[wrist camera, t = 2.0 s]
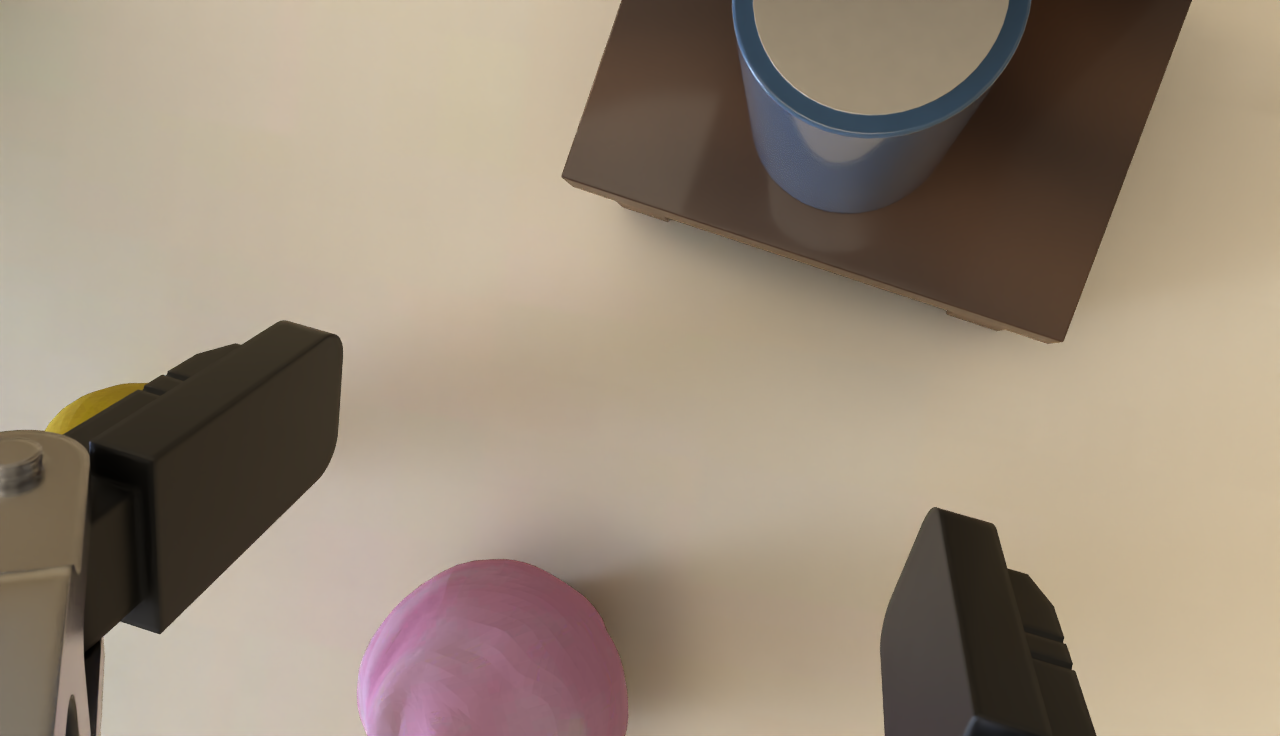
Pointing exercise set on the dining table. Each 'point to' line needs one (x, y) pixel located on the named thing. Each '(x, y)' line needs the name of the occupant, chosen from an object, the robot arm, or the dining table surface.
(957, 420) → the dining table surface
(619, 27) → the shelf
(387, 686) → the cupcake
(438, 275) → the dining table surface
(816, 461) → the dining table surface
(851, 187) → the mug
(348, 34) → the dining table surface
